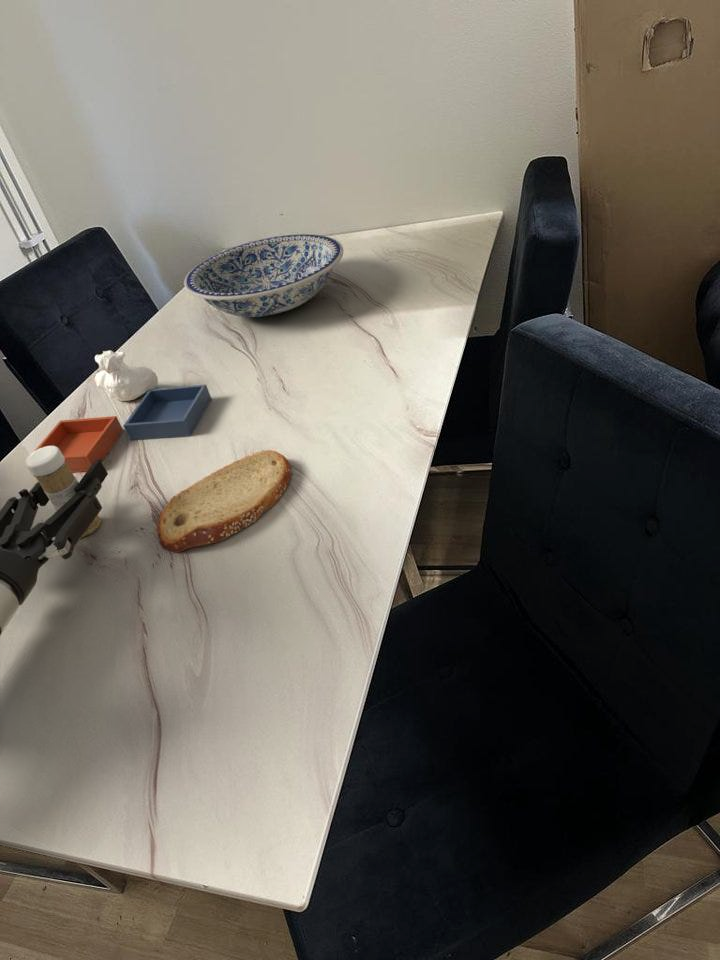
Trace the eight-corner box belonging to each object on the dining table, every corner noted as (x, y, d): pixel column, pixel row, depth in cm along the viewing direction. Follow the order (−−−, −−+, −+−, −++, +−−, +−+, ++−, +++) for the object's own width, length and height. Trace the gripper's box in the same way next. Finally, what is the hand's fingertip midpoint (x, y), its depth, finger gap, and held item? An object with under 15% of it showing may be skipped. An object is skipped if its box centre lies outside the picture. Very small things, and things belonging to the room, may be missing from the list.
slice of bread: (294, 455, 100) (288, 435, 98) (284, 538, 86) (276, 517, 84) (181, 473, 102) (172, 454, 100) (153, 557, 88) (142, 537, 86)
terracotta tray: (35, 474, 110) (26, 459, 108) (68, 434, 119) (60, 420, 117) (95, 471, 108) (86, 456, 106) (123, 430, 116) (116, 415, 114)
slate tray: (130, 440, 113) (123, 425, 111) (155, 403, 121) (149, 389, 119) (190, 436, 110) (184, 421, 108) (211, 399, 119) (206, 384, 117)
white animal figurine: (108, 409, 128) (71, 389, 117) (110, 372, 130) (74, 349, 119) (165, 403, 125) (132, 382, 115) (166, 365, 127) (134, 341, 116)
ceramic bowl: (383, 283, 144) (375, 237, 138) (266, 357, 127) (251, 309, 121) (282, 263, 165) (271, 223, 159) (170, 324, 149) (153, 282, 142)
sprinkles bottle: (90, 513, 99) (46, 441, 90) (108, 522, 96) (65, 448, 88) (64, 533, 96) (17, 460, 88) (82, 542, 94) (35, 468, 85)
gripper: (-58, 611, 83) (37, 490, 100) (75, 611, 79) (150, 484, 96) (-95, 571, 78) (12, 451, 96) (44, 568, 74) (129, 443, 91)
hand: (81, 468), depth 96 cm, fingers open, 6 cm apart
